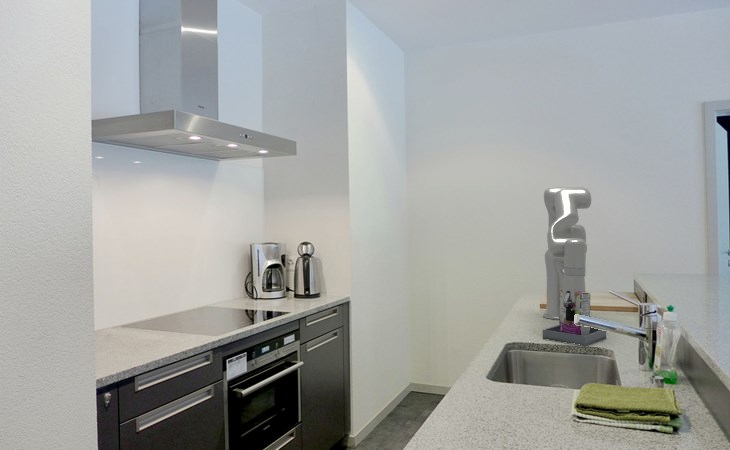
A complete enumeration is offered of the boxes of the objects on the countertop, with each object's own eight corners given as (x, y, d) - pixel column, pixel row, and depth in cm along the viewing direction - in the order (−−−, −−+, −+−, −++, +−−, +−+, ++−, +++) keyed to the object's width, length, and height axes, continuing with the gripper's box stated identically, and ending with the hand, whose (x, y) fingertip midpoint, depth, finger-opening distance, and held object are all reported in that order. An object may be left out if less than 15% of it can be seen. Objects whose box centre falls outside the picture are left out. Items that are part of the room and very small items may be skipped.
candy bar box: (558, 331, 212) (558, 289, 212) (568, 330, 214) (568, 288, 214) (580, 337, 202) (581, 293, 202) (590, 336, 204) (591, 292, 204)
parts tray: (564, 331, 220) (564, 323, 220) (606, 338, 208) (606, 329, 208) (542, 338, 208) (542, 329, 208) (585, 346, 196) (585, 336, 196)
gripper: (575, 269, 216) (575, 315, 217) (554, 273, 204) (554, 321, 205) (594, 271, 211) (594, 317, 211) (573, 274, 199) (573, 324, 199)
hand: (574, 319), depth 208 cm, fingers closed on candy bar box, 6 cm apart
